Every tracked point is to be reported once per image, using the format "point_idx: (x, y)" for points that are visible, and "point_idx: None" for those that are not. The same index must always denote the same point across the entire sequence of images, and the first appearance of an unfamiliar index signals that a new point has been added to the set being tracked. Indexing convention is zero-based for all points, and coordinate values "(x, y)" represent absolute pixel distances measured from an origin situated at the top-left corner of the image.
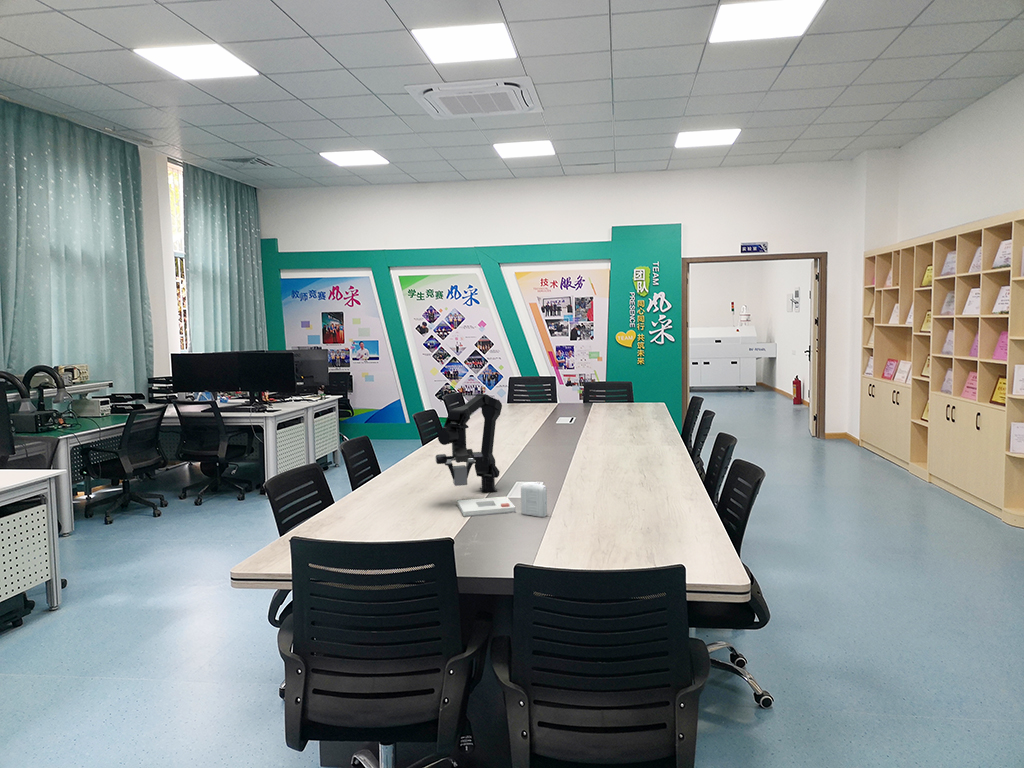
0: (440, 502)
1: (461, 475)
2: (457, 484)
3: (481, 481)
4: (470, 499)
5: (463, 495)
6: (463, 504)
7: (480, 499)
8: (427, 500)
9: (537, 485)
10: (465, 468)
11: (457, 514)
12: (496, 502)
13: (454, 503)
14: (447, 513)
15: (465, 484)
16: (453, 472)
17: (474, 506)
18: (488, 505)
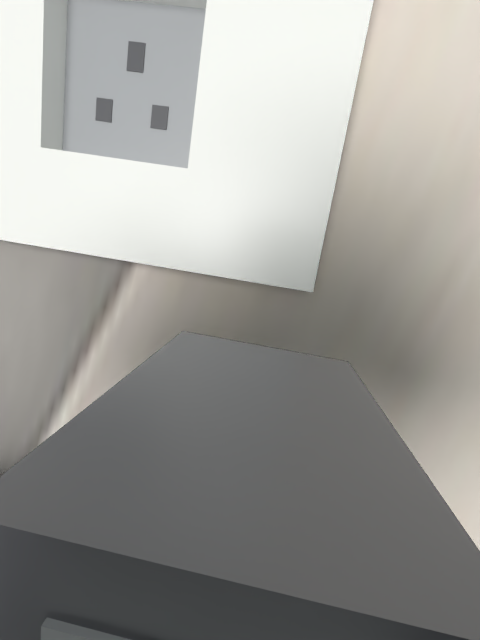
0: (394, 423)
1: (240, 409)
2: (315, 359)
3: None
4: (202, 273)
5: None
6: (309, 137)
7: (126, 233)
8: (459, 513)
9: None
10: (34, 510)
11: (404, 23)
12: (24, 72)
13: (310, 351)
14: (469, 95)
15: (205, 336)
16: None
17: (238, 17)
18: (101, 142)
